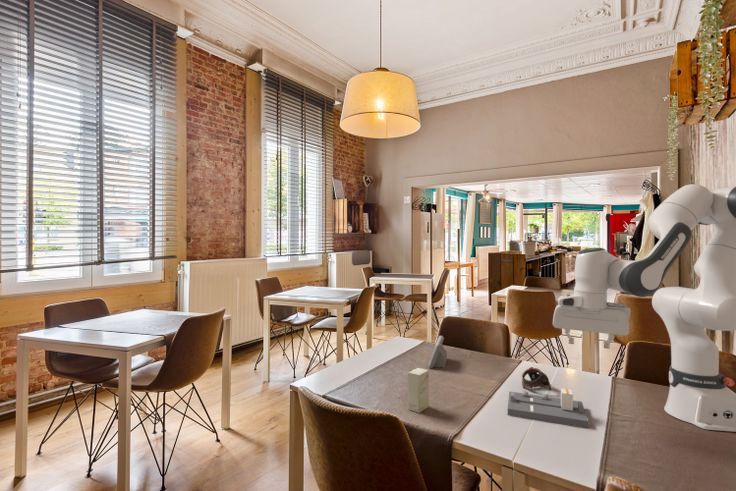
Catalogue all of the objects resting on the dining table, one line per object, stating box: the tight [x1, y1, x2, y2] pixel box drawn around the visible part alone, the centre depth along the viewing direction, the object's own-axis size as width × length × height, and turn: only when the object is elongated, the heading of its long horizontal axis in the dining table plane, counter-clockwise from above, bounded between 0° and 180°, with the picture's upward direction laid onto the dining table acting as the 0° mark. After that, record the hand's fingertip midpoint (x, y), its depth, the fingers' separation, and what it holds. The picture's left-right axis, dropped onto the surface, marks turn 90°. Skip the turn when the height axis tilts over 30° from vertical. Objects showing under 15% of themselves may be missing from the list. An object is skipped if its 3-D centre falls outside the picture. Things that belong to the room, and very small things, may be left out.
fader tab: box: [560, 387, 574, 411], centre depth 119 cm, size 3×4×5 cm
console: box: [507, 390, 589, 429], centre depth 121 cm, size 22×14×4 cm, turn 67°
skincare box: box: [407, 367, 430, 414], centre depth 124 cm, size 6×4×12 cm
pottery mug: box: [521, 366, 552, 391], centre depth 140 cm, size 12×10×8 cm
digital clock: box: [427, 335, 448, 369], centre depth 167 cm, size 16×9×11 cm, turn 152°
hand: (588, 345), depth 117 cm, fingers open, 8 cm apart
